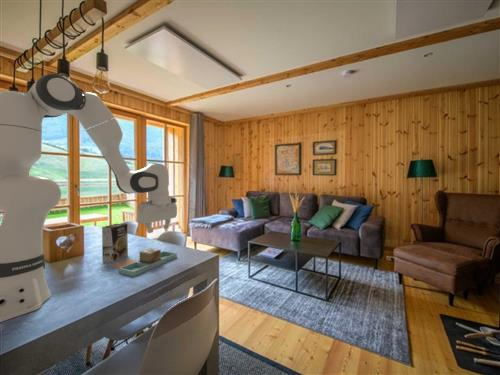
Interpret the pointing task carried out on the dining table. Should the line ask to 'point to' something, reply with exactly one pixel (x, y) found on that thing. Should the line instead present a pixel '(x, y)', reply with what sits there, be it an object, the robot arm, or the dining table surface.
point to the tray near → (134, 269)
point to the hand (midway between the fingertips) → (158, 230)
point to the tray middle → (155, 263)
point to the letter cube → (150, 255)
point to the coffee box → (114, 242)
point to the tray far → (168, 256)
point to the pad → (124, 263)
